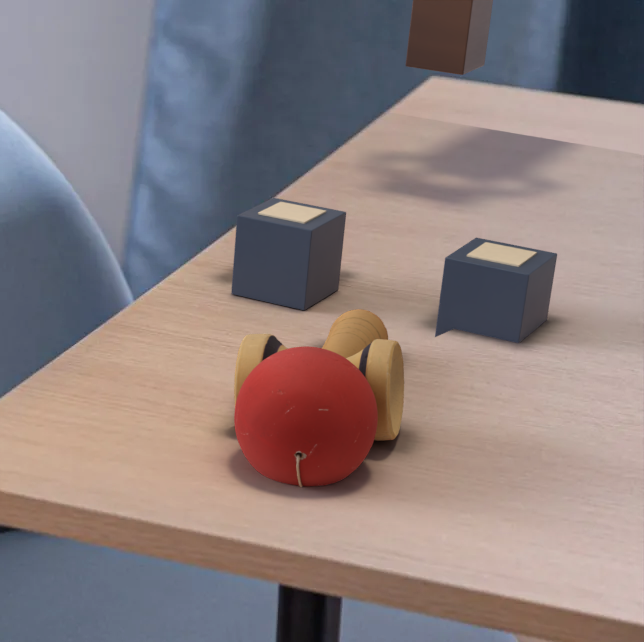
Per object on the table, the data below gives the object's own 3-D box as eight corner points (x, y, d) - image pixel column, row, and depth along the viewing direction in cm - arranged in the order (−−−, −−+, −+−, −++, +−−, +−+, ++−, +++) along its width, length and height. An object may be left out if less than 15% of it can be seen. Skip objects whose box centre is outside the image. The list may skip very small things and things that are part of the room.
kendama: (261, 379, 90) (180, 470, 73) (297, 260, 87) (222, 326, 71) (407, 427, 88) (359, 531, 72) (447, 308, 86) (407, 386, 69)
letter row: (230, 294, 98) (236, 213, 96) (267, 274, 101) (273, 195, 99) (516, 358, 90) (529, 272, 88) (544, 334, 94) (558, 251, 92)
